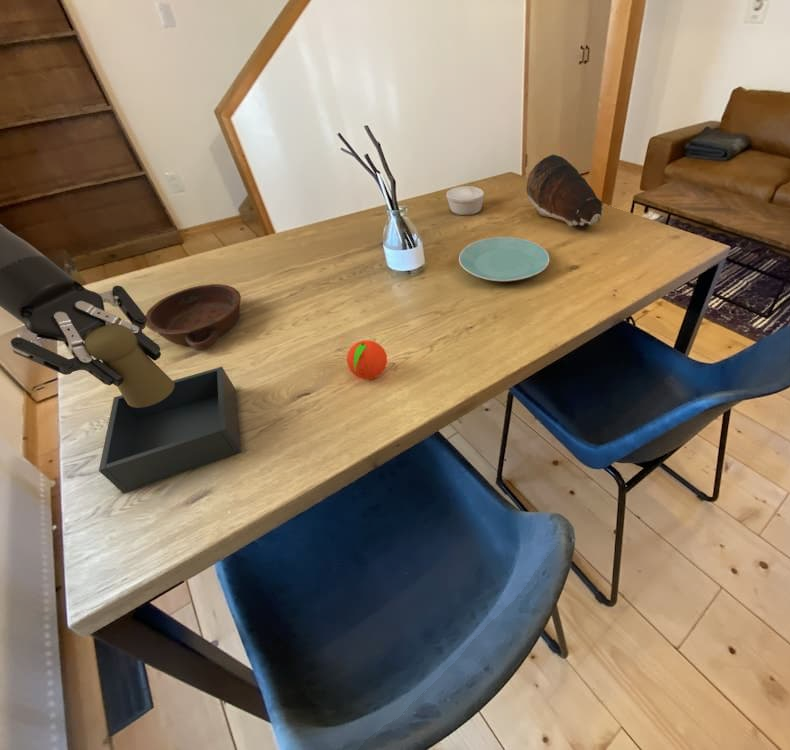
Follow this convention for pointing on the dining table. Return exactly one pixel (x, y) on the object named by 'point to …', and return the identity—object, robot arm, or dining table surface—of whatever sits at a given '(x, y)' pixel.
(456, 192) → the ramekin
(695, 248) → the dining table surface
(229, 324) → the dish
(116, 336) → the cork
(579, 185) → the taro root
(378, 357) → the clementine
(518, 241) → the plate
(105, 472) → the bin
